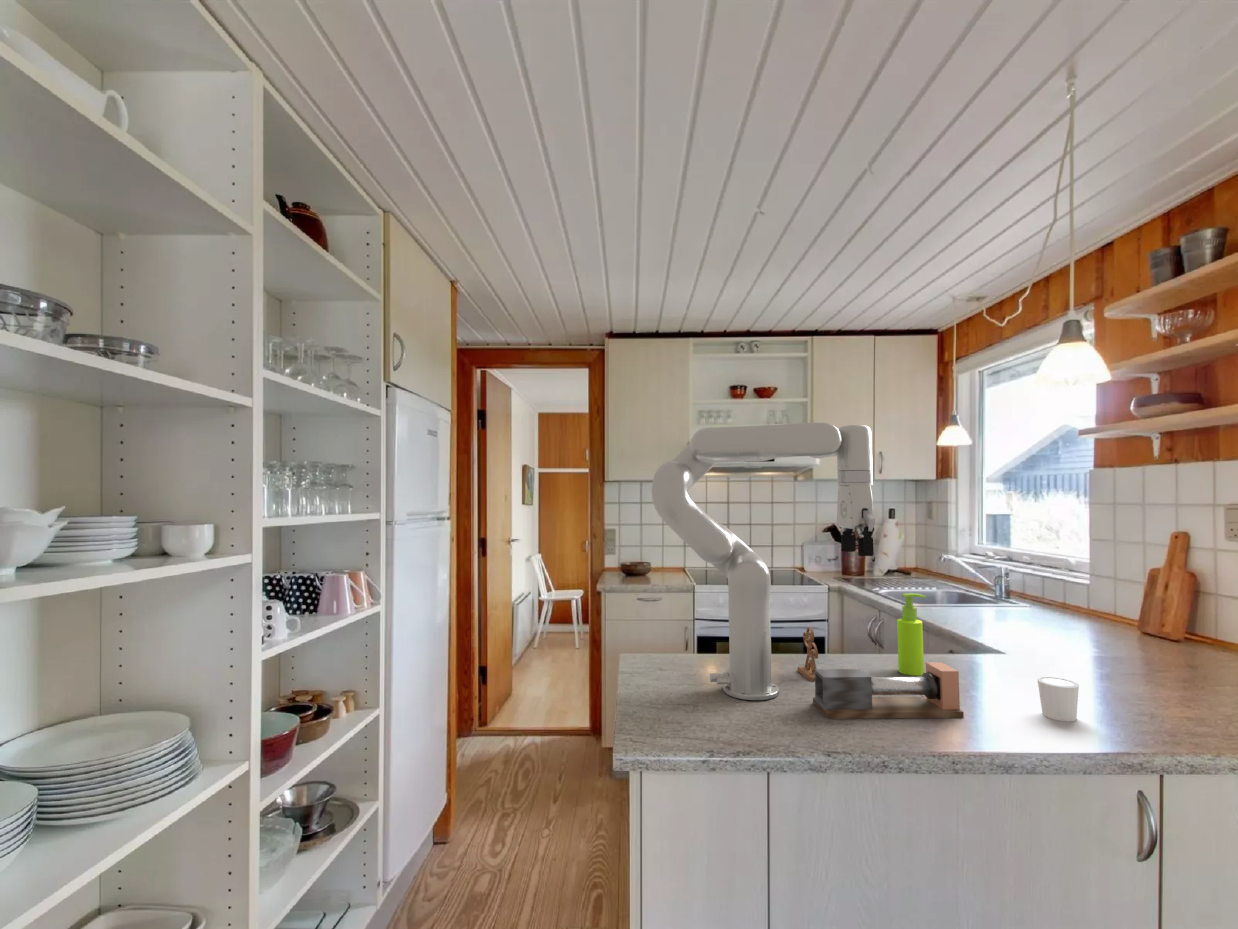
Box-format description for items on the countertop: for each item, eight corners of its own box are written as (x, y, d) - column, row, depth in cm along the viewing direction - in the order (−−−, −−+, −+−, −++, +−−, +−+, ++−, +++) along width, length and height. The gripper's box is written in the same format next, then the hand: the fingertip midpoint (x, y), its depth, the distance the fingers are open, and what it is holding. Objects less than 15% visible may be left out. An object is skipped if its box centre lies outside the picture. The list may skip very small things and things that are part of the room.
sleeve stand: (827, 718, 120) (826, 679, 121) (812, 703, 129) (812, 667, 130) (963, 717, 120) (962, 679, 121) (939, 702, 129) (938, 666, 130)
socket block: (942, 709, 122) (941, 671, 122) (926, 698, 128) (925, 662, 128) (959, 709, 122) (958, 671, 122) (942, 698, 128) (941, 662, 128)
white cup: (1082, 725, 116) (1081, 689, 116) (1040, 718, 120) (1038, 683, 120) (1078, 714, 122) (1076, 679, 122) (1037, 707, 126) (1036, 674, 126)
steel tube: (852, 703, 122) (852, 677, 123) (843, 694, 127) (842, 670, 128) (953, 702, 122) (952, 677, 123) (939, 693, 128) (938, 669, 128)
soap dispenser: (931, 676, 147) (929, 596, 148) (902, 675, 149) (899, 595, 150) (924, 669, 153) (921, 592, 154) (895, 668, 154) (893, 591, 155)
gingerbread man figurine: (825, 680, 144) (824, 631, 145) (810, 681, 144) (809, 632, 145) (811, 670, 153) (810, 623, 154) (797, 670, 153) (796, 624, 154)
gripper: (825, 480, 144) (827, 550, 143) (853, 478, 127) (855, 558, 126) (856, 479, 144) (857, 550, 143) (888, 478, 127) (890, 557, 126)
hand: (856, 553), depth 134 cm, fingers open, 9 cm apart
